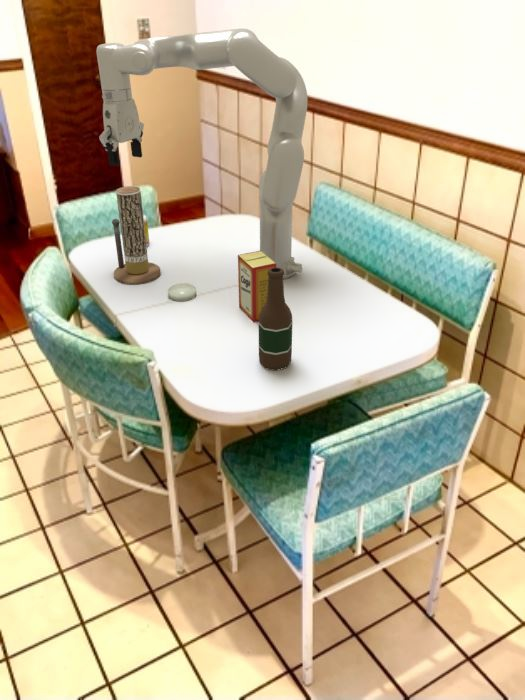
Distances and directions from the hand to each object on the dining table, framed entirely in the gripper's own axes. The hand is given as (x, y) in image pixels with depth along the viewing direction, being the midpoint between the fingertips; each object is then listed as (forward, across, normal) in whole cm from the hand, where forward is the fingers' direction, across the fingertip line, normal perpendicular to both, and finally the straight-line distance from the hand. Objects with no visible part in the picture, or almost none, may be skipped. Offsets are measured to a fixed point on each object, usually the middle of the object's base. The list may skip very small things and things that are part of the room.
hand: (126, 161), depth 176 cm
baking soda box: (+35, -5, -43) cm, 56 cm away
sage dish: (+35, -6, -19) cm, 40 cm away
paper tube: (+33, 0, +1) cm, 33 cm away
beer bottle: (+35, -25, -59) cm, 73 cm away
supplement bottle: (+35, +18, +15) cm, 42 cm away
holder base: (+34, -1, +1) cm, 34 cm away
